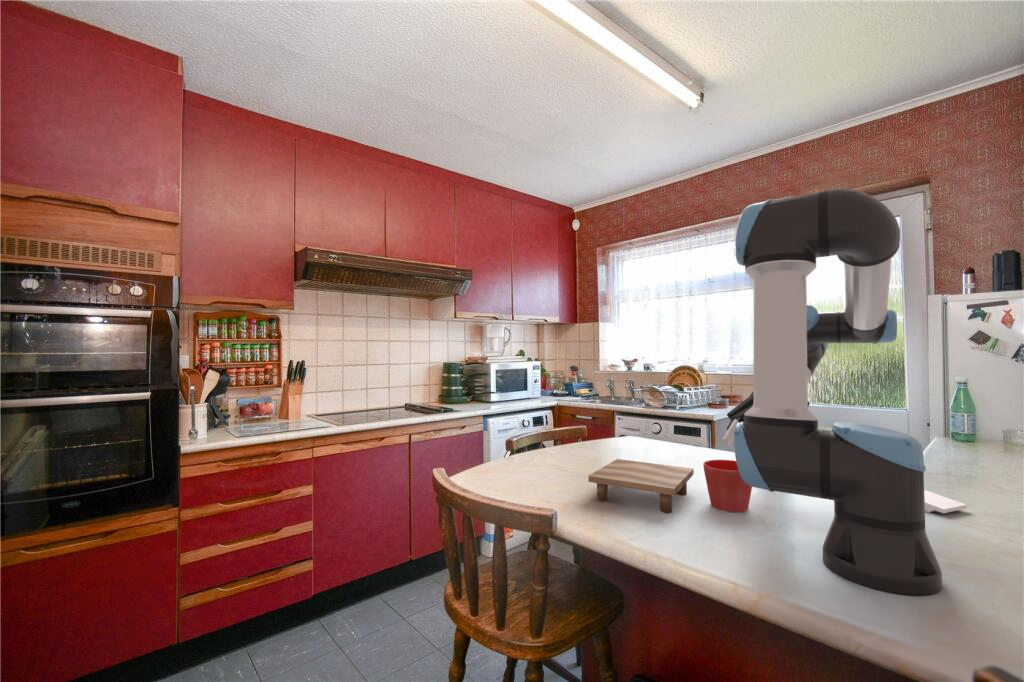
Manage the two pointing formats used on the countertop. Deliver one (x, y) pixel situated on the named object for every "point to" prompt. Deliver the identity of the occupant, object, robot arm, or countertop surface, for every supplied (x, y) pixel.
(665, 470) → the walnut stool
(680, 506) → the countertop surface
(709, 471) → the flower pot
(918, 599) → the countertop surface
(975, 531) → the countertop surface
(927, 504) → the wall bracket
